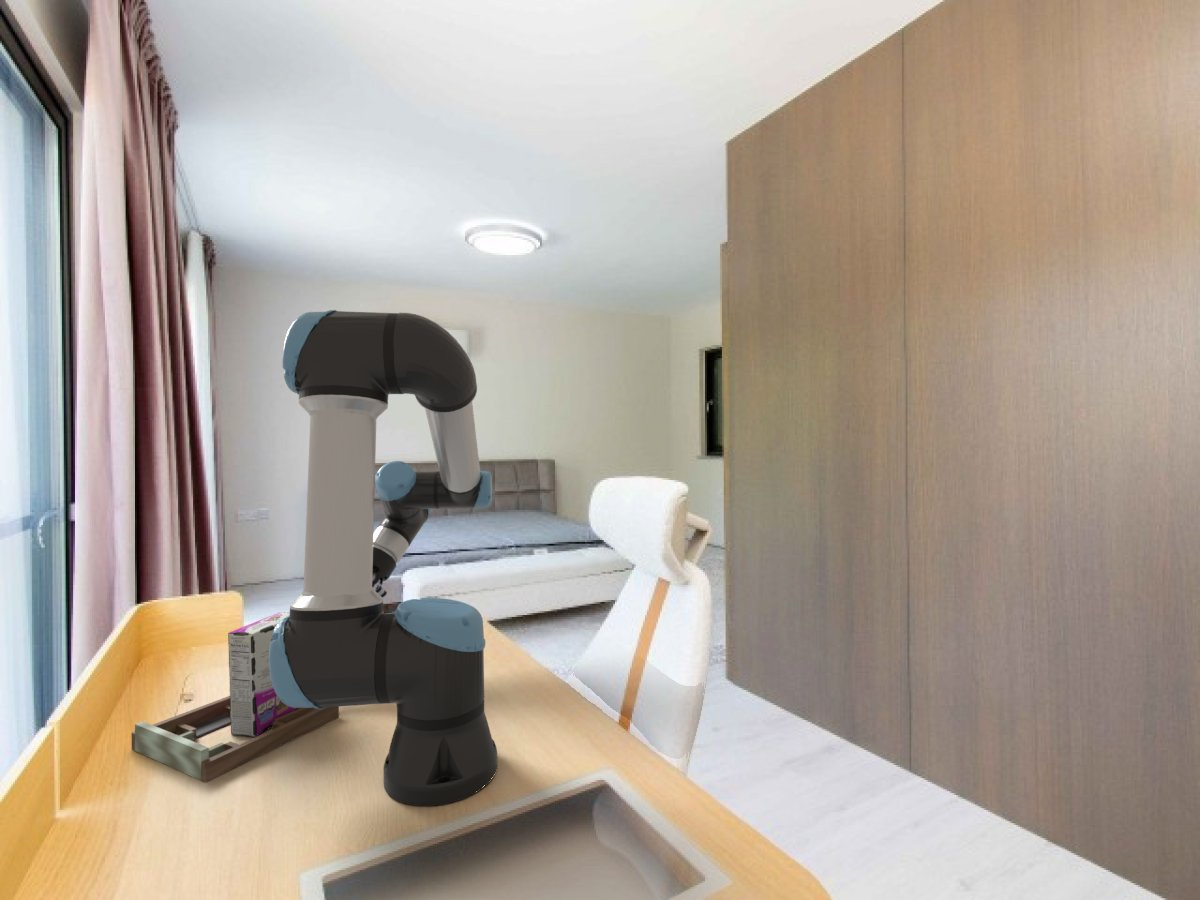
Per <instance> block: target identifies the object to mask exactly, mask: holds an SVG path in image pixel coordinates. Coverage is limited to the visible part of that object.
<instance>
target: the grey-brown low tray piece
mask: <svg viewBox="0 0 1200 900" xmlns="http://www.w3.org/2000/svg"><path fill="white" fill-rule="evenodd" d="M339 709H340V706H339V707H326V708H324V709H315V708H299V709H297V710H294V711H292V712H290V713H288V714H285V715H283V716H281V717H279V718H276V719H274V720H273V723H272V727H271V730H267V731H265V732H263V733H262V734H260V735H259V736H257V737H252V738H251V739H248V740H246V741H244V742H241V743H240V744H239V743H235V742H233V741H231V740H230V741H227V742H225V743H224V742H220V743H217V744H216V745H213V746H210V747H208V746H205V745H204V744H200V743H198V742H196V741H195V739H197V738H200V737H203V736H205V735H208V734H210V733H212V732H215V731H216V730H219V729H221V728H224V727H226V726H229V725H231V717H230V695H228V696H226V697H223V698H219V699H218V700H215V701H212V702H209V703H207V704H204V705H202V706H199V707H196V708H194V709H190V710H188V711H185V712H182V713H181V714H178V715H175V716H172V717H169V718H167V719H164V720H162V721H158V722H157V723H153V724H151V723H148V722H145V721H143V720H142V721H139V722H136V723H134V731H133V732H131V734H130V735H131V750H132V751H134V752H137V753H139V754H141V755H143V756H146V757H148V758H150V759H153V760H155V761H157V762H159V763H162V764H163V765H165V766H168V767H171V768H172V769H175V770H176V771H179V772H181V773H183V774H186V775H189V776H190V777H192V778H194V779H197V780H199V781H201V782H204V783H207V782H209V781H211V780H213V779H215V778H217V777H219V776H222V775H223V774H225V773H227V772H230V771H232V770H233V769H236V768H237V767H240V766H242V765H244V764H245V763H248V762H251V761H252V760H254V759H257V758H258V757H260V756H263V755H264V754H267V753H269V752H271V751H272V750H275V749H277V748H279V747H281V746H283V745H285V744H287V743H289V742H291V741H293V740H295V739H297V738H299V737H301V736H303V735H305V734H307V733H310V732H312V731H314V730H316V729H318V728H319V727H321V726H325V725H326V724H328V723H330V722H332V721H334V720H336V719H338V718H339V717H340V710H339Z"/></svg>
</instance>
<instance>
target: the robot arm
mask: <svg viewBox="0 0 1200 900" xmlns="http://www.w3.org/2000/svg"><path fill="white" fill-rule="evenodd" d="M281 359H282V361H281V363H282V369H283V370H284V373H283V377H284V378H283V379H284V382H285V384H286V385H287V388H288V389H289V390H290V391H291V392H293V393H295V394H297V395H298V404H299V405H300V406H301V407H302V408H303V409H304V410H305V412H306V413H308V415H309V417H310V418H309V437H308V438H309V439H308V441H309V442H308V444H309V445H308V466H307V469H308V470H307V490H306V491H307V492H306V495H307V496H306V517H305V520H306V521H305V523H306V524H305V543H304V544H305V546H304V565H303V569H304V570H303V575H304V576H303V590H302V592H301V594H300V595H299V596H298V597H297V598H296V599H295V600H294V601H293V602H292V603H290V605H289V613H290V616H287V617H286V618H284V619H282V620H280V621H279V622H278V624H277V625H276V626H275V628H274V631H273V634H272V639H273V641H272V642H271V643H270V647H269V670H270V677H271V682H272V685H273V688H274V690H275V693H276V695H277V696H278V697H279V698H280V700H281V701H282V702H283V703H284V704H285V705H287V706H289V707H293V708H315V709H324V708H326V707H339V708H340V707H350V706H351V707H352V706H367V705H380V704H381V705H385V704H396V725H395V728H394V731H393V735H392V738H391V741H390V745H389V748H388V749H389V750H388V754H387V755H386V758H385V760H384V763H383V787H384V790H385V792H386V793H387V795H388V796H390V797H391V798H392V799H394V800H395V801H398V802H400V803H404V804H407V805H413V806H421V807H422V806H423V807H424V806H437V805H445V804H450V803H453V801H454V802H458V801H460V799H461V800H463V799H466V798H468V797H470V796H473V795H475V794H476V793H477V792H476V791H478V790H479V789H481V788H482V787H483V786H484V785H486V784H487V783H488V782H489V781H490V780H491V778H492V777H493V775H494V774H495V772H496V769H497V770H498V748H497V745H496V743H495V740H494V739H493V737H492V733H491V730H490V726H489V723H488V719H487V716H486V714H485V713H486V712H485V662H484V661H485V660H484V659H485V657H484V652H485V651H484V649H485V648H486V639H485V635H484V633H485V632H484V631H485V630H484V621H483V616H482V614H481V613H480V611H479V610H478V609H477V608H476V607H474V606H473V605H471V604H469V603H466V602H463V601H459V600H456V599H448V598H443V597H442V598H441V597H440V598H439V597H421V598H420V599H417V598H416V599H415V598H411V599H408V600H407V599H406V600H404V601H402V602H400V603H399V604H398V606H397V608H396V609H395V610H394V612H393V613H392V612H391V613H390V612H389V613H388V612H387V613H385V612H384V598H385V597H386V596H387V593H388V592H387V590H385V589H384V588H383V583H384V582H386V581H387V580H389V579H390V577H391V576H392V573H393V572H394V570H395V569H396V567H397V564H398V563H400V561H401V560H402V557H403V556H404V555H405V553H406V551H407V550H408V549H409V547H410V546H411V544H412V542H413V541H414V540H415V538H416V536H417V535H418V533H419V532H420V530H421V529H422V527H423V526H424V524H425V523H426V522H427V521H428V519H429V516H430V514H431V513H432V511H433V510H437V509H440V510H441V509H442V510H443V509H444V510H445V509H470V510H474V509H482V508H488V507H490V506H491V505H492V502H493V477H492V473H491V471H488V470H481V466H480V458H479V450H478V443H477V440H478V439H477V431H476V423H475V417H474V416H475V415H474V406H473V401H474V399H476V396H477V392H478V384H477V376H476V371H475V368H474V366H473V364H472V363H473V362H472V361H471V359H470V357H469V355H468V353H467V352H466V351H465V349H464V348H463V347H462V345H461V344H460V343H459V342H458V340H457V339H456V338H455V337H454V336H453V335H452V334H451V333H450V332H449V331H448V330H447V329H445V328H444V327H442V325H440V324H439V323H437V322H435V321H433V320H431V319H429V318H427V317H425V316H423V315H419V314H416V313H411V312H398V313H396V312H394V313H393V312H375V311H374V312H373V311H372V312H369V311H367V312H366V311H343V310H342V311H341V310H337V309H330V310H326V311H308V312H305V313H302V314H301V315H298V317H296V319H295V320H294V321H293V322H292V323H291V325H290V327H289V328H288V330H287V333H286V336H285V340H284V344H283V350H282V358H281ZM405 394H407V395H414V397H415V399H416V401H417V402H418V403H419V405H420V406H421V407H422V408H424V410H425V413H426V419H427V422H428V423H427V424H428V427H429V433H430V435H431V436H430V437H431V439H432V440H431V441H432V444H433V449H434V452H435V453H434V454H435V457H436V458H435V459H436V462H437V467H438V470H437V471H432V470H431V471H416V470H414V467H412V466H411V464H409V463H407V462H404V461H402V460H401V461H400V460H394V461H389V462H387V463H384V464H383V465H382V466H381V467H380V468H379V469H378V471H376V450H377V449H376V448H377V447H376V446H377V445H376V444H377V443H376V442H377V419H378V418H379V417H380V416H381V415H382V414H383V413H384V412H385V411H386V410H388V407H389V395H405ZM375 488H376V493H377V496H378V497H379V498H378V499H379V500H380V504H381V506H382V508H383V511H384V514H385V515H384V517H383V518H382V520H381V522H380V523H379V525H378V526H377V527H376V528H375V530H374V526H375V524H374V523H375V522H374V521H375V494H376V493H375ZM496 773H497V772H496ZM495 775H496V774H495ZM491 781H492V780H491ZM491 781H490V782H491ZM487 785H488V784H487ZM487 785H486V786H487ZM481 790H482V789H481ZM475 792H476V793H475ZM478 792H479V791H478ZM472 794H473V795H472ZM457 800H458V801H457ZM449 802H450V803H449Z"/></svg>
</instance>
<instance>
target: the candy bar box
mask: <svg viewBox="0 0 1200 900" xmlns="http://www.w3.org/2000/svg"><path fill="white" fill-rule="evenodd" d="M287 616H290V612H285V611H282V612H277V613H274V614H272V615H269V616H266V617H265V618H262V619H259V620H257V621H254V622H252V623H249V624H247V625H245V626H241V627H239V628H237V629H234V630H231V631H229V632H228V633H227V635H228V639H227V641H228V642H227V643H228V644H227V645H228V671H229V673H228V674H229V696H230V717H231V724H230V734H231V735H233V736H240V737H250V738H255V737H257V736H259V735H261V734H264V733H266V732H267V731H269V729H272V723H273V720H274V719H276V718H279V717H281V716H283V715H285V714H288V713H290V712H292V711H294V710H297V709H299V708H293V707H289V706H287V705H285V704H284V703H283V702H282V701H281V700H280V698H279V697H278V696H277V695H276V693H275V690H274V688H273V685H272V682H271V677H270V670H269V647H270V643H271V642H272V641H273V639H272V634H273V631H274V628H275V626H276V625H277V624H278V622H279V621H280V620H282V619H284V618H286V617H287Z"/></svg>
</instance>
